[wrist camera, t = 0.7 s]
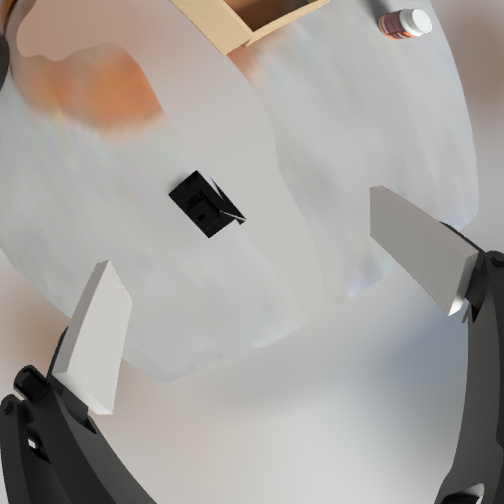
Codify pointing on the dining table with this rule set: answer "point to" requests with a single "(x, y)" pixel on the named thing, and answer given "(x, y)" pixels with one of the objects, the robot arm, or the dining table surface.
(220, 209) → the black boxy piece
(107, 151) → the dining table surface
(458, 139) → the dining table surface
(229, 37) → the carton
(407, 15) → the pill bottle
